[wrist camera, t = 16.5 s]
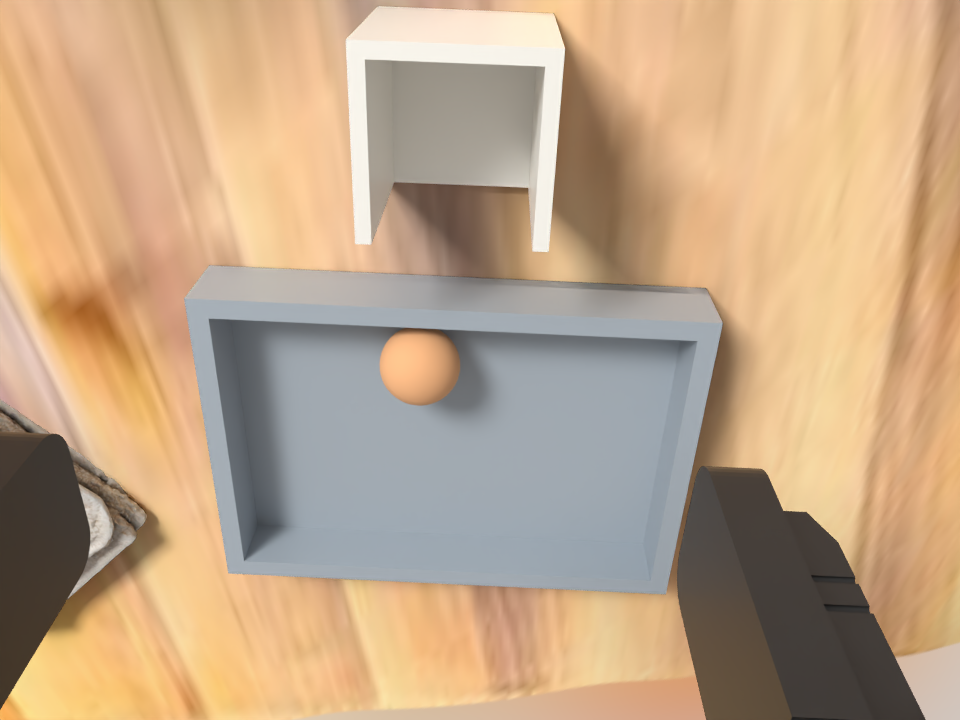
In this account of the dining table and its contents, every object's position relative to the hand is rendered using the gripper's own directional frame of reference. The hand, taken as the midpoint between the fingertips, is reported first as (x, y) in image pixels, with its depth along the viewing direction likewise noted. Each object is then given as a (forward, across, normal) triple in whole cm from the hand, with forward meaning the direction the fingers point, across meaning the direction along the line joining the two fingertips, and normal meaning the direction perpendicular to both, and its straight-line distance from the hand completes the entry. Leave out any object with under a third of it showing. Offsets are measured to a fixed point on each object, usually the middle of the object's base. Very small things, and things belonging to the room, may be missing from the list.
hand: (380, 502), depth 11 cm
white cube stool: (+22, 0, 0) cm, 22 cm away
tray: (+22, 0, +14) cm, 26 cm away
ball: (+20, +1, +10) cm, 22 cm away
